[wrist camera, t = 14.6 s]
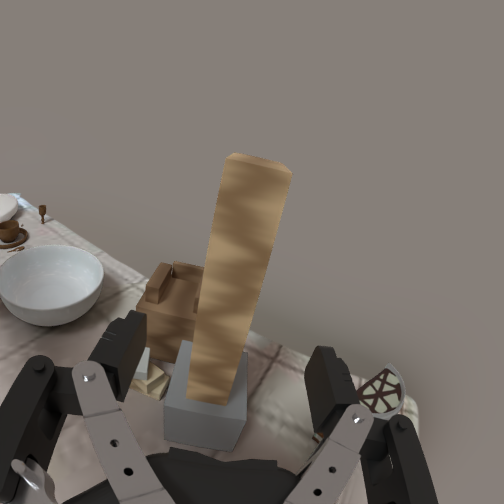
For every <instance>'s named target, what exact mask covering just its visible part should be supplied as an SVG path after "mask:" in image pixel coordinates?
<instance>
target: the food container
mask: <svg viewBox="0 0 504 504" xmlns="http://www.w3.org/2000/svg"><path fill="white" fill-rule="evenodd" d="M356 392H357V395H358V398H359V401H360V404H361V405H363V406H365V407H367V408H368V409H369V410H370V411H371V412H372V414H373V417H376V418H380V419H385V420H389V419H390V418H391V417H392V416H394V415H396V414H398V413H399V411H400V409H401V407H402V405H403V402H404V398H405V385H404V382H403V379H402V377H401V376H400V374H399V373H398V371H397V370H396V369H395V368H394V367H393V366H392V365H391V364H390V363H388V364H387V366H386V367H385V369H384V370H383V371H382V372H381V373H379V374H378V375H377V376H375V377H374V378H373V379H371V380H369V381H368V382H367V383H365V384H364V385H363V386H362V387H360V388H359V389H358V390H357V391H356ZM323 437H324V436H323V433H316V434H315V435H314V436H313V438H312V439H313V440H315V441H316V442H317V443H318V444H319V442H320V441H321V440H322V438H323Z"/></svg>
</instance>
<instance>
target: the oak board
mask: <svg viewBox="0 0 504 504" xmlns="http://www.w3.org/2000/svg"><path fill="white" fill-rule="evenodd" d="M291 178H292V172H291V171H290V170H288V169H287V167H285V166H284V165H283V164H282V163H279V162H275V161H271V160H267V159H263V158H258V157H254V156H250V155H245V154H240V153H236V152H235V153H233V154H232V155H230V156H228V157H227V158H226V160H225V165H224V169H223V174H222V179H221V183H220V188H219V194H218V198H217V203H216V208H215V213H214V219H213V224H212V229H211V234H210V240H209V245H208V250H207V256H206V262H205V267H204V273H203V279H202V285H201V291H200V298H199V304H198V310H197V317H196V324H195V330H194V337H193V345H192V352H191V359H190V367H189V375H188V383H187V392H186V398H187V399H191V400H196V401H201V402H206V403H211V404H216V405H222V406H226V404H227V401H228V398H229V395H230V391H231V388H232V385H233V382H234V378H235V375H236V372H237V368H238V365H239V362H240V358H241V355H242V352H243V348H244V345H245V342H246V338H247V335H248V332H249V328H250V325H251V321H252V318H253V314H254V311H255V307H256V304H257V301H258V297H259V294H260V290H261V287H262V283H263V280H264V276H265V273H266V269H267V266H268V262H269V258H270V255H271V251H272V248H273V244H274V241H275V237H276V233H277V230H278V226H279V222H280V218H281V215H282V211H283V208H284V204H285V200H286V196H287V193H288V189H289V185H290V182H291Z"/></svg>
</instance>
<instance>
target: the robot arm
mask: <svg viewBox="0 0 504 504" xmlns="http://www.w3.org/2000/svg"><path fill="white" fill-rule="evenodd" d="M146 341H147V314H146V313H142V312H138V311H134V310H130V311H129V313H128V315H127V316H126V318H125V319H122V318H117V319H115V320H114V321H112V322H111V323H110V324H109V326H108V327H107V329H106V331H105V332H104V334H103V335H102V338H100V340H99V342H98V343H97V345H96V347H95V348H94V350H93V352H92V353H91V355H90V357H89V358H88V360H87V361H82V362H80V363H78V364H77V365H75V367H73V368H68V367H58V366H54V364H53V362H52V360H51V359H50V358H48V357H46V356H43V355H37V356H33V357H31V358H30V359H29V360H28V361H27V362H26V364H25V365H24V367H23V368H22V370H21V372H20V373H19V375H18V377H17V378H16V380H15V381H14V383H13V385H12V387H11V388H10V390H9V392H8V394H7V395H6V397H5V399H4V401H3V402H2V404H1V406H0V504H58V503H57V501H56V499H55V494H54V492H55V485H54V482H53V480H52V478H51V477H50V475H49V474H48V473H47V469H48V466H49V463H50V460H51V457H52V454H53V451H54V448H55V445H56V443H57V440H58V437H59V435H60V432H61V429H62V427H63V424H64V422H65V419H66V417H67V414H72V415H83V418H84V421H85V424H86V427H87V430H88V433H89V436H90V438H91V441H92V444H93V446H94V449H95V451H96V454H97V456H98V458H99V461H100V463H101V465H102V468H103V470H104V472H105V474H106V476H107V479H106V480H104V481H103V482H101V483H99V484H97V485H95V486H94V487H92V488H90V489H88V490H86V491H84V492H82V493H80V494H79V495H77V496H75V497H73V498H71V499H69V500H67V501H65V502H63V503H62V504H335V502H336V500H337V499H338V497H339V496H340V494H341V492H342V491H343V489H344V487H345V485H346V484H347V482H348V480H349V478H350V477H351V475H352V473H353V471H354V469H355V467H356V465H357V463H358V462H359V460H361V466H362V471H363V476H364V482H365V488H366V494H367V500H368V504H438V501H437V497H436V493H435V489H434V486H433V482H432V479H431V476H430V473H429V469H428V466H427V463H426V460H425V457H424V454H423V451H422V448H421V445H420V442H419V439H418V436H417V433H416V431H415V428H414V425H413V423H412V421H411V420H410V419H409V418H408V417H406V416H404V415H401V414H396V415H394V416H392V417H391V418H390V419H389V420H385V419H380V418H376V417H373V414H372V412H371V411H370V410H369V409H368V408H367V407H365V406H363V405H361V404H360V401H359V398H358V395H357V392H356V389H355V386H354V384H353V382H352V378H351V375H350V372H349V370H348V367H347V365H346V364H345V363H344V361H343V360H342V359H341V358H337V357H336V354H335V351H334V349H333V347H326V346H317V347H316V348H315V350H314V352H313V354H312V356H311V358H310V360H309V362H308V364H307V366H306V369H305V373H304V380H305V385H306V390H307V395H308V401H309V406H310V412H311V417H312V423H313V428H314V433H323V436H324V437H323V438H322V440H321V441H320V442H319V444H318V445H317V447H316V448H315V449H314V451H313V452H312V454H311V455H310V456H309V458H308V459H307V461H306V462H305V463H304V465H303V466H302V467H301V468H300V469H299V470H298V472H297V473H296V474H293V473H292V472H290V471H288V470H286V469H283V468H280V467H277V460H258V459H248V460H240V461H231V462H222V461H219V460H216V459H213V458H211V457H208V456H205V455H203V454H200V453H198V452H193V451H188V450H183V449H178V448H173V447H170V450H169V453H157V454H152V455H148V456H144V454H143V452H142V450H141V448H140V446H139V445H138V443H137V441H136V439H135V437H134V435H133V433H132V431H131V429H130V426H129V424H128V422H127V420H126V418H125V416H124V414H123V412H122V410H121V409H120V408H119V406H118V404H117V402H116V400H117V401H120V402H124V400H125V397H126V394H127V392H128V389H129V387H130V384H131V382H132V379H133V377H134V374H135V372H136V369H137V367H138V365H139V362H140V360H141V357H142V355H143V353H144V350H145V347H146ZM389 455H390V456H389ZM390 458H391V460H390ZM391 461H392V464H391ZM392 465H393V468H392Z"/></svg>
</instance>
